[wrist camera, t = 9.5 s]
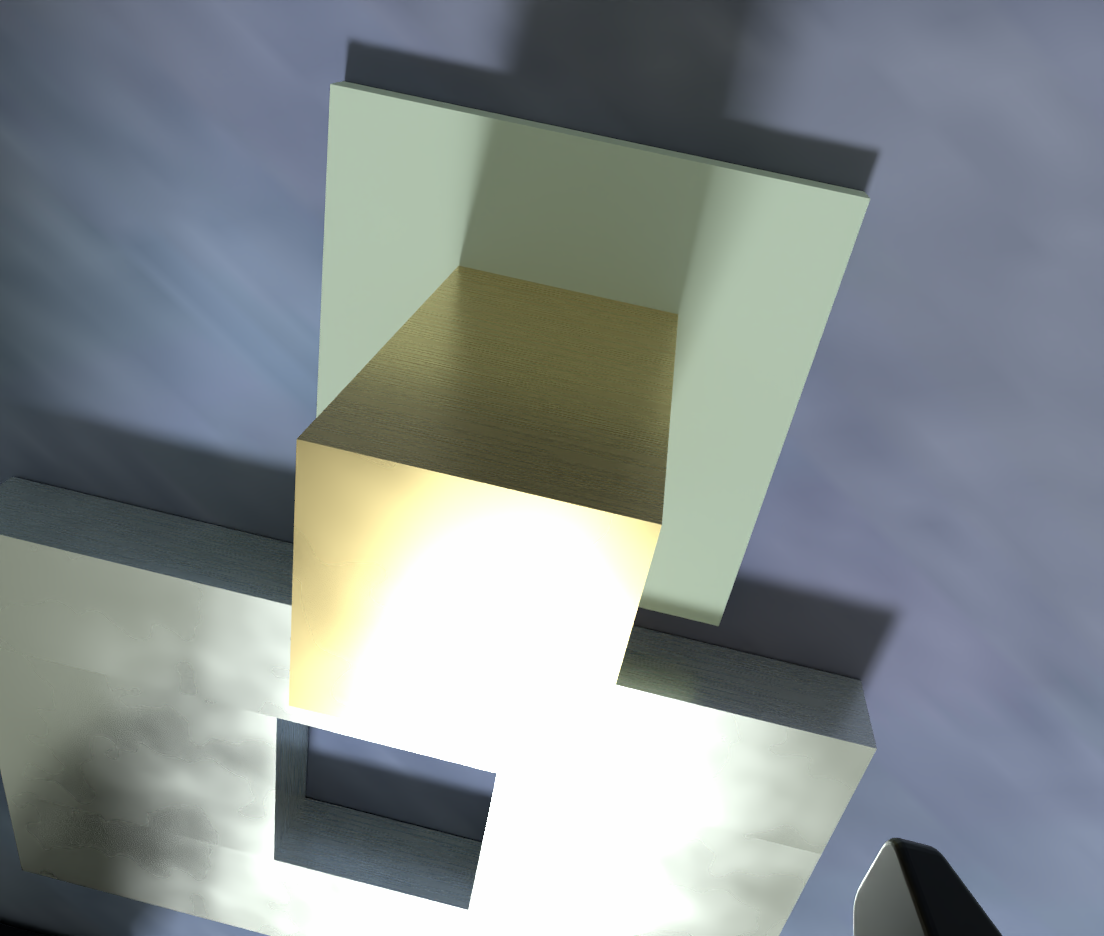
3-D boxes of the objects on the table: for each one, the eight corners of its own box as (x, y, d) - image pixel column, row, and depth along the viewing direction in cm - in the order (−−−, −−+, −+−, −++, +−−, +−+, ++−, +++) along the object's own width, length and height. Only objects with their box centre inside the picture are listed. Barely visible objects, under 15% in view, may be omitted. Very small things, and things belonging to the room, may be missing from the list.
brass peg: (434, 458, 17) (288, 705, 11) (458, 265, 15) (296, 439, 9) (628, 503, 17) (587, 780, 11) (678, 314, 15) (661, 525, 9)
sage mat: (322, 514, 19) (311, 528, 19) (344, 81, 15) (330, 83, 14) (718, 608, 19) (718, 626, 18) (864, 191, 14) (870, 198, 14)
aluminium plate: (67, 811, 26) (22, 870, 24) (12, 476, 20) (-54, 521, 18) (715, 980, 25) (716, 1053, 23) (860, 680, 19) (876, 748, 17)
